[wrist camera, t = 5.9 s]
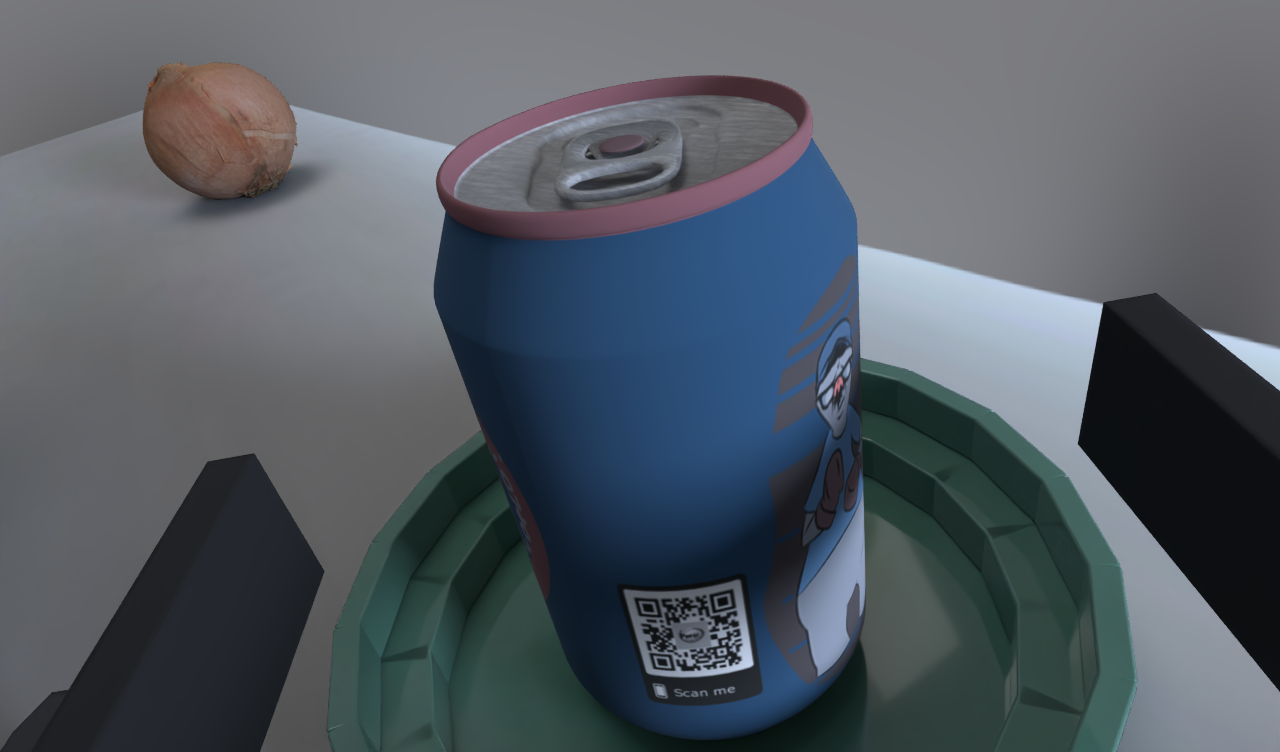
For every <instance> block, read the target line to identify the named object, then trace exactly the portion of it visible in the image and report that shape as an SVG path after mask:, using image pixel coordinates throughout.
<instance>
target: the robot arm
mask: <svg viewBox="0 0 1280 752" xmlns="http://www.w3.org/2000/svg"><path fill="white" fill-rule="evenodd" d="M1078 445H1079V446H1080V447H1081V448H1082V450H1083V451H1084V452H1085V453H1086V455H1087V456H1088V457H1089V458H1090V460H1091V461H1092V462H1093V463H1094V464H1095V466H1096V467H1097V468H1098V469H1099V471H1100V472H1101V473H1102V474H1103V475H1104V477H1105V478H1106V479H1107V480H1108V482H1109V483H1110V484H1111V485H1112V486H1113V488H1114V489H1115V490H1116V491H1117V493H1118V494H1119V495H1120V496H1121V498H1122V499H1123V500H1124V501H1125V502H1126V504H1127V505H1128V506H1129V507H1130V509H1131V510H1132V511H1133V512H1134V513H1135V515H1136V516H1137V517H1138V518H1139V520H1140V521H1141V522H1142V523H1143V525H1144V526H1145V527H1146V528H1147V529H1148V531H1149V532H1150V533H1151V534H1152V536H1153V537H1154V538H1155V539H1156V540H1157V542H1158V543H1159V544H1160V545H1161V547H1162V548H1163V549H1164V550H1165V552H1166V553H1167V554H1168V555H1169V556H1170V558H1171V559H1172V560H1173V561H1174V563H1175V564H1176V565H1177V566H1178V567H1179V569H1180V570H1181V571H1182V572H1183V574H1184V575H1185V576H1186V577H1187V578H1188V580H1189V581H1190V582H1191V583H1192V585H1193V586H1194V587H1195V588H1196V590H1197V591H1198V592H1199V593H1200V594H1201V596H1202V597H1203V598H1204V599H1205V601H1206V602H1207V603H1208V604H1209V605H1210V607H1211V608H1212V609H1213V610H1214V612H1215V613H1216V614H1217V615H1218V617H1219V618H1220V619H1221V620H1222V621H1223V623H1224V624H1225V625H1226V626H1227V628H1228V629H1229V630H1230V631H1231V632H1232V634H1233V635H1234V636H1235V637H1236V639H1237V640H1238V641H1239V642H1240V643H1241V645H1242V646H1243V647H1244V648H1245V650H1246V651H1247V652H1248V653H1249V655H1250V656H1251V657H1252V658H1253V659H1254V661H1255V662H1256V663H1257V664H1258V666H1259V667H1260V668H1261V669H1262V670H1263V672H1264V673H1265V674H1266V675H1267V677H1268V678H1269V679H1270V680H1271V682H1272V683H1273V684H1274V685H1275V686H1276V688H1277V689H1278V690H1279V691H1280V391H1279V390H1278V389H1277V388H1275V387H1274V386H1273V385H1272V384H1270V383H1269V382H1268V381H1267V380H1265V379H1264V378H1263V377H1261V376H1260V375H1259V374H1258V373H1256V372H1255V371H1254V370H1253V369H1251V368H1250V367H1249V366H1248V365H1246V364H1245V363H1244V362H1243V361H1241V360H1240V359H1239V358H1238V357H1236V356H1235V355H1234V354H1233V353H1231V352H1230V351H1229V350H1227V349H1226V348H1225V347H1224V346H1222V345H1221V344H1220V343H1219V342H1217V341H1216V340H1215V339H1214V338H1212V337H1211V336H1210V335H1209V334H1207V333H1206V332H1205V331H1204V330H1202V329H1201V328H1200V327H1198V326H1197V325H1196V324H1194V323H1193V322H1192V321H1191V320H1190V319H1188V318H1187V317H1186V316H1184V315H1183V314H1182V313H1181V312H1179V311H1178V310H1177V309H1176V308H1175V307H1173V306H1172V305H1171V304H1169V303H1168V302H1167V301H1166V300H1164V299H1163V298H1162V297H1160V296H1159V295H1158V294H1157V293H1153V294H1148V295H1142V296H1137V297H1132V298H1126V299H1120V300H1114V301H1108V302H1104V303H1103V309H1102V314H1101V320H1100V325H1099V331H1098V336H1097V342H1096V347H1095V353H1094V358H1093V364H1092V369H1091V374H1090V380H1089V385H1088V391H1087V396H1086V402H1085V407H1084V413H1083V418H1082V424H1081V429H1080V435H1079V440H1078ZM323 574H324V570H323V568H322V566H321V565H320V563H319V561H318V560H317V558H316V556H315V555H314V553H313V551H312V549H311V548H310V546H309V544H308V543H307V541H306V539H305V538H304V536H303V534H302V533H301V531H300V529H299V528H298V526H297V524H296V523H295V521H294V519H293V518H292V516H291V514H290V513H289V511H288V509H287V507H286V506H285V504H284V502H283V501H282V499H281V497H280V496H279V494H278V492H277V491H276V489H275V487H274V486H273V484H272V482H271V481H270V479H269V477H268V476H267V474H266V472H265V471H264V469H263V467H262V465H261V464H260V462H259V460H258V459H257V457H256V455H255V454H254V453H253V454H248V455H242V456H237V457H231V458H225V459H220V460H214V461H208V462H207V463H206V465H205V467H204V468H203V470H202V472H201V473H200V475H199V477H198V478H197V480H196V481H195V483H194V485H193V486H192V488H191V490H190V491H189V493H188V495H187V496H186V498H185V500H184V501H183V503H182V504H181V506H180V508H179V509H178V511H177V513H176V514H175V516H174V518H173V519H172V521H171V523H170V524H169V526H168V527H167V529H166V531H165V532H164V534H163V536H162V537H161V539H160V541H159V542H158V544H157V546H156V547H155V549H154V550H153V552H152V554H151V555H150V557H149V559H148V560H147V562H146V564H145V565H144V567H143V569H142V570H141V572H140V573H139V575H138V577H137V578H136V580H135V582H134V583H133V585H132V587H131V588H130V590H129V592H128V593H127V595H126V596H125V598H124V600H123V601H122V603H121V605H120V606H119V608H118V610H117V611H116V613H115V615H114V616H113V618H112V619H111V621H110V623H109V624H108V626H107V628H106V629H105V631H104V633H103V634H102V636H101V638H100V639H99V641H98V642H97V644H96V646H95V647H94V649H93V651H92V652H91V654H90V656H89V657H88V659H87V661H86V662H85V664H84V665H83V667H82V669H81V670H80V672H79V674H78V675H77V677H76V679H75V680H74V682H73V684H72V685H71V687H70V688H69V690H64V691H58V692H52V693H51V694H50V695H49V696H48V697H47V698H46V699H45V700H44V701H43V702H42V703H41V704H40V705H39V706H38V707H37V708H36V709H35V710H34V711H33V712H32V713H31V714H30V715H29V716H28V717H27V718H26V719H25V720H24V721H23V722H22V724H21V725H20V726H19V727H18V728H17V729H16V730H15V731H14V732H13V733H12V734H11V736H10V737H9V739H8V740H7V742H6V744H5V745H4V747H3V748H2V750H1V751H0V752H260V750H261V747H262V745H263V742H264V739H265V736H266V733H267V731H268V728H269V725H270V722H271V719H272V717H273V714H274V711H275V708H276V705H277V703H278V700H279V697H280V694H281V691H282V689H283V686H284V683H285V680H286V677H287V675H288V672H289V669H290V666H291V663H292V661H293V658H294V655H295V652H296V649H297V647H298V644H299V641H300V638H301V635H302V633H303V630H304V627H305V624H306V621H307V619H308V616H309V613H310V610H311V607H312V605H313V602H314V599H315V596H316V593H317V591H318V588H319V585H320V582H321V580H322V577H323Z"/></svg>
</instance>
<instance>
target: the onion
mask: <svg viewBox="0 0 1280 752" xmlns="http://www.w3.org/2000/svg"><path fill="white" fill-rule="evenodd" d="M157 71H158V73H157V77H156V76H155V77H154V80H153V81H152V82H150V83H148V87H149V89H148V93H147V97H146V101H145V106H144V112H143V135H144V140H145V144H146V147H147V150H148V153H149V155H150V157H151V158H152V160H153V162H154V163H155V164H156V166H157V167H158V168H159V169H160V170H161V171H162V172H163V173H164V174H165V175H166V176H167V177H168V178H170V179H171V180H172V181H174V182H175V183H176V184H178V185H179V186H181V187H182V188H184V189H186V190H188V191H190V192H193V193H195V194H197V195H200V196H203V197H208V198H213V199H231V198H238V197H241V196H244V195H245V197H247V196H249V197H252V198H254V197H256V196H258V195H260V194H262V193H264V192H266V191H268V190H270V191H271V190H272V189H278V185H279V182H280V180H281V181H283V178H284V176H285V175H286V174H287V173H289V172H287V171H288V170H289V169H291V168H292V165H291V163H290V162H291V159H292V155H293V151H294V145H296V146H297V137H296V128H297V127H296V125H297V123H296V121H295V117H294V114H293V111H292V110H291V109H290V106H289V104H288V102H287V101H286V99H285V98H284V96H283V95H282V93H281V92H279V90H278V89H277V88H276V87H275V86H274V85H273V84H272V83H271V82H270V81H269V80H267V78H265V77H263V76H262V75H260V74H259V73H257V72H255V71H253V70H251V69H249V68H247V67H244V66H241V65H238V64H231V63H210V64H204V65H198V66H187V65H184V64H183V63H182V62H180V63H177V64H171V63H170V64H167V65H163V66H161V67H160V68H159V69H158V70H157ZM286 172H287V173H286ZM285 173H286V174H285ZM284 174H285V175H284Z"/></svg>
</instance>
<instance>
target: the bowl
mask: <svg viewBox="0 0 1280 752" xmlns="http://www.w3.org/2000/svg"><path fill="white" fill-rule="evenodd" d="M860 369H861V411H862V454H863V497H864V539H865V582H866V611H865V619H864V624H863V628H862V632H861V635H860V638H859V641H858V644H857V646H856V648H855V651H854V653H853V655H852V656H851V658H850V660H849V662H848V664H847V665H846V667H845V668H844V670H843V671H842V672H841V674H840V675H839V676H838V678H837V679H836V680H835V681H834V682H833V684H832V685H831V686H830V687H829V688H828V689H827V690H826V691H825V692H824V693H823V694H822V695H821V696H820V697H819V698H817V699H816V700H815V701H814V702H813V703H812V704H810V705H809V706H807V707H806V708H805V709H803V710H802V711H800V712H799V713H797V714H796V715H794V716H792V717H791V718H789V719H787V720H785V721H783V722H781V723H779V724H777V725H775V726H773V727H771V728H768V729H766V730H763V731H761V732H758V733H755V734H752V735H748V736H744V737H740V738H734V739H727V740H690V739H683V738H676V737H671V736H666V735H662V734H659V733H655V732H652V731H649V730H646V729H643V728H641V727H638V726H636V725H634V724H632V723H630V722H628V721H626V720H624V719H622V718H620V717H619V716H617V715H616V714H614V713H612V712H611V711H610V710H608V709H607V708H605V707H604V706H603V705H602V704H600V703H599V702H598V701H597V700H596V699H595V698H594V697H593V696H592V695H591V694H590V693H589V692H588V691H587V690H586V689H585V688H584V687H583V685H582V684H581V683H580V681H579V680H578V679H577V677H576V676H575V674H574V672H573V671H572V669H571V667H570V665H569V663H568V661H567V659H566V656H565V654H564V651H563V649H562V646H561V643H560V640H559V638H558V635H557V632H556V630H555V627H554V624H553V622H552V619H551V616H550V613H549V611H548V608H547V605H546V603H545V600H544V597H543V594H542V592H541V589H540V586H539V584H538V581H537V578H536V575H535V573H534V570H533V567H532V565H531V562H530V559H529V557H528V554H527V551H526V548H525V546H524V543H523V540H522V538H521V535H520V532H519V529H518V527H517V524H516V521H515V519H514V516H513V513H512V510H511V508H510V505H509V502H508V500H507V497H506V494H505V492H504V489H503V486H502V483H501V481H500V478H499V475H498V473H497V470H496V467H495V464H494V462H493V459H492V456H491V454H490V451H489V448H488V445H487V443H486V440H485V437H484V435H483V432H482V430H480V431H479V432H478V433H477V434H475V435H474V436H473V437H471V438H470V439H469V440H468V441H466V442H465V443H464V444H463V445H461V446H460V447H459V448H457V449H456V450H455V451H454V452H452V453H451V454H450V455H449V456H447V457H446V458H445V459H444V460H442V461H441V462H440V463H438V464H437V465H436V466H435V467H433V468H432V469H431V470H430V471H429V472H428V473H426V475H425V476H424V477H423V478H422V480H421V481H420V482H419V483H418V485H417V486H416V487H415V488H414V490H413V491H412V492H411V493H410V495H409V496H408V497H407V498H406V500H405V501H404V502H403V503H402V505H401V506H400V507H399V508H398V509H397V511H396V512H395V513H394V514H393V516H392V517H391V518H390V519H389V521H388V522H387V523H386V524H385V526H384V527H383V528H382V529H381V531H380V532H379V533H378V534H377V536H376V537H375V538H374V539H373V541H372V542H373V543H371V544H370V547H369V549H368V551H367V554H366V556H365V558H364V561H363V563H362V565H361V568H360V570H359V572H358V575H357V577H356V579H355V582H354V584H353V586H352V589H351V591H350V593H349V596H348V598H347V600H346V603H345V605H344V607H343V610H342V612H341V614H340V617H339V619H338V621H337V624H336V626H335V630H334V633H333V647H332V661H331V676H330V690H329V704H328V718H327V733H328V739H329V742H330V745H331V748H332V751H333V752H1118V749H1119V745H1120V742H1121V739H1122V736H1123V732H1124V729H1125V726H1126V722H1127V719H1128V716H1129V713H1130V709H1131V706H1132V703H1133V700H1134V696H1135V693H1136V690H1137V686H1136V685H1137V681H1138V680H1137V673H1136V666H1135V658H1134V651H1133V644H1132V636H1131V629H1130V622H1129V615H1128V607H1127V600H1126V593H1125V586H1124V578H1123V571H1122V569H1121V567H1120V563H1119V562H1118V560H1117V558H1116V556H1115V555H1114V553H1113V551H1112V550H1111V548H1110V546H1109V545H1108V543H1107V541H1106V539H1105V538H1104V536H1103V534H1102V533H1101V531H1100V529H1099V528H1098V526H1097V524H1096V523H1095V521H1094V519H1093V517H1092V516H1091V514H1090V512H1089V511H1088V509H1087V507H1086V506H1085V504H1084V502H1083V501H1082V499H1081V497H1080V495H1079V494H1078V492H1077V490H1076V489H1075V487H1074V485H1073V484H1072V482H1071V480H1070V478H1069V477H1068V476H1066V474H1065V473H1064V472H1063V471H1062V470H1061V469H1060V468H1059V467H1058V466H1056V465H1055V464H1054V463H1053V462H1052V461H1051V460H1049V459H1048V458H1047V457H1046V456H1045V455H1044V454H1043V453H1041V452H1040V451H1039V450H1038V449H1037V448H1036V447H1034V446H1033V445H1032V444H1031V443H1030V442H1029V441H1028V440H1026V439H1025V438H1024V437H1023V436H1022V435H1021V434H1019V433H1018V432H1017V431H1016V430H1015V429H1014V428H1013V427H1011V426H1010V425H1009V424H1008V423H1007V422H1006V421H1005V420H1003V419H1002V418H1001V417H1000V416H999V415H998V414H996V413H995V412H992V410H991V409H989V408H987V407H985V406H982V405H980V404H978V403H976V402H974V401H972V400H970V399H968V398H966V397H964V396H962V395H960V394H958V393H956V392H954V391H952V390H950V389H948V388H946V387H944V386H942V385H940V384H938V383H936V382H933V381H931V380H929V379H927V378H925V377H923V376H921V375H919V374H917V373H915V372H913V371H909V370H908V369H904V368H900V367H896V366H892V365H888V364H884V363H880V362H876V361H872V360H867V359H863V358H860Z"/></svg>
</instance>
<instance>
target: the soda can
mask: <svg viewBox="0 0 1280 752" xmlns="http://www.w3.org/2000/svg"><path fill="white" fill-rule="evenodd" d="M812 131H813V120H812V112H811V109H810V106H809V104H808V102H807V101H806V99H805V98H804V97H803V96H802V95H800V94H799V93H798V92H796V91H795V90H793V89H791V88H789V87H787V86H785V85H782V84H779V83H776V82H772V81H768V80H763V79H757V78H750V77H740V76H718V75H717V76H715V75H714V76H713V75H711V76H710V75H709V76H685V77H673V78H662V79H654V80H647V81H640V82H633V83H628V84H622V85H616V86H612V87H607V88H602V89H598V90H594V91H589V92H585V93H581V94H577V95H573V96H570V97H567V98H563V99H560V100H557V101H553V102H550V103H547V104H544V105H541V106H538V107H535V108H532V109H530V110H527V111H525V112H522V113H519V114H517V115H514V116H512V117H510V118H507V119H505V120H503V121H500V122H498V123H496V124H494V125H492V126H489V127H488V128H485V129H484V130H481V131H480V132H478V133H476V134H474V135H472V136H471V137H469V138H468V139H466V140H465V141H463V142H462V143H461V144H459V145H458V146H457V147H456V148H455V149H454V150H453V151H452V152H451V153H450V154H449V155H448V156H447V157H446V159H445V160H444V161H443V163H442V165H441V166H440V168H439V171H438V173H437V178H436V187H437V192H438V195H439V199H440V201H441V203H442V205H443V207H444V209H445V210H446V212H445V218H444V224H443V230H442V236H441V242H440V248H439V254H438V260H437V266H436V272H435V280H434V300H435V305H436V307H437V310H438V313H439V315H440V318H441V321H442V324H443V326H444V329H445V332H446V334H447V337H448V340H449V343H450V345H451V348H452V351H453V353H454V356H455V359H456V362H457V364H458V367H459V370H460V372H461V375H462V378H463V380H464V383H465V386H466V389H467V391H468V394H469V397H470V399H471V402H472V405H473V408H474V410H475V413H476V416H477V418H478V421H479V424H480V427H481V429H482V432H483V435H484V437H485V440H486V443H487V445H488V448H489V451H490V454H491V456H492V459H493V462H494V464H495V467H496V470H497V473H498V475H499V478H500V481H501V483H502V486H503V489H504V492H505V494H506V497H507V500H508V502H509V505H510V508H511V510H512V513H513V516H514V519H515V521H516V524H517V527H518V529H519V532H520V535H521V538H522V540H523V543H524V546H525V548H526V551H527V554H528V557H529V559H530V562H531V565H532V567H533V570H534V573H535V575H536V578H537V581H538V584H539V586H540V589H541V592H542V594H543V597H544V600H545V603H546V605H547V608H548V611H549V613H550V616H551V619H552V622H553V624H554V627H555V630H556V632H557V635H558V638H559V640H560V643H561V646H562V649H563V651H564V654H565V656H566V659H567V661H568V663H569V665H570V667H571V669H572V671H573V672H574V674H575V676H576V677H577V679H578V680H579V681H580V683H581V684H582V685H583V687H584V688H585V689H586V690H587V691H588V692H589V693H590V694H591V695H592V696H593V697H594V698H595V699H596V700H597V701H598V702H599V703H600V704H602V705H603V706H604V707H605V708H607V709H608V710H610V711H611V712H612V713H614V714H616V715H617V716H619V717H620V718H622V719H624V720H626V721H628V722H630V723H632V724H634V725H636V726H638V727H641V728H643V729H646V730H649V731H652V732H655V733H659V734H662V735H666V736H671V737H676V738H683V739H690V740H727V739H734V738H740V737H744V736H748V735H752V734H755V733H758V732H761V731H763V730H766V729H768V728H771V727H773V726H775V725H777V724H779V723H781V722H783V721H785V720H787V719H789V718H791V717H792V716H794V715H796V714H797V713H799V712H800V711H802V710H803V709H805V708H806V707H807V706H809V705H810V704H812V703H813V702H814V701H815V700H816V699H817V698H819V697H820V696H821V695H822V694H823V693H824V692H825V691H826V690H827V689H828V688H829V687H830V686H831V685H832V684H833V682H834V681H835V680H836V679H837V678H838V676H839V675H840V674H841V672H842V671H843V670H844V668H845V667H846V665H847V664H848V662H849V660H850V658H851V656H852V655H853V653H854V651H855V648H856V646H857V644H858V641H859V638H860V635H861V632H862V628H863V624H864V619H865V611H866V582H865V539H864V497H863V454H862V411H861V369H860V326H859V284H858V241H857V219H856V215H855V212H854V208H853V206H852V204H851V202H850V200H849V198H848V196H847V195H846V193H845V191H844V189H843V188H842V186H841V184H840V182H839V181H838V179H837V178H836V176H835V174H834V173H833V171H832V169H831V168H830V167H829V165H828V163H827V162H826V160H825V158H824V157H823V155H822V153H821V152H820V150H819V149H818V147H817V146H816V144H815V142H814V141H813V139H812V137H811V136H812Z"/></svg>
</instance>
